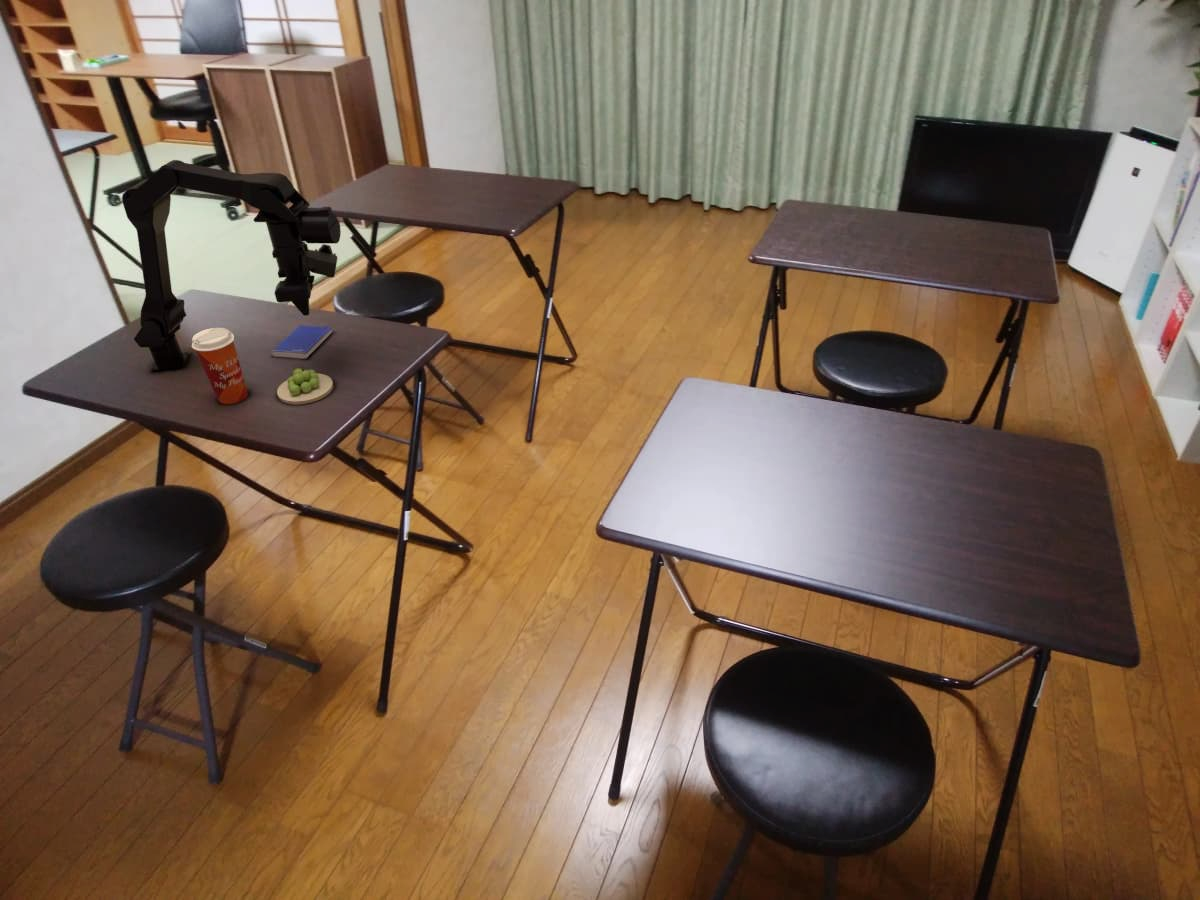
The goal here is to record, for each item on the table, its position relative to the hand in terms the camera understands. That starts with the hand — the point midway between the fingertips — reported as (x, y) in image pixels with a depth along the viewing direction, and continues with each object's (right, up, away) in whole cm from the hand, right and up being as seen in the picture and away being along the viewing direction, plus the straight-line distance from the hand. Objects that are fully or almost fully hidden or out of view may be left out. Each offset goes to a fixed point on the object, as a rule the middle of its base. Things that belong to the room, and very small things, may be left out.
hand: (306, 314), depth 158 cm
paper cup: (-14, -17, -3) cm, 22 cm away
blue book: (-6, -4, +14) cm, 16 cm away
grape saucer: (+1, -16, -2) cm, 16 cm away
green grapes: (+1, -16, -2) cm, 16 cm away
